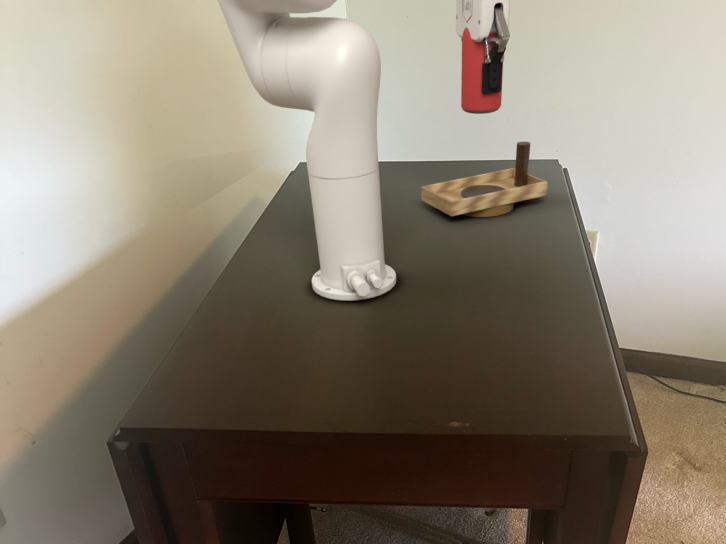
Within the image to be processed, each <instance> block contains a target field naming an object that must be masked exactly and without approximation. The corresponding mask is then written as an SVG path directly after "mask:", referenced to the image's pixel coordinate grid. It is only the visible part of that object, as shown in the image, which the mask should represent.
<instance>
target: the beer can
mask: <svg viewBox="0 0 726 544" xmlns="http://www.w3.org/2000/svg"><path fill="white" fill-rule="evenodd" d="M467 23H468V22H467ZM491 37H497V33H489V35H488V38H491ZM492 47H493V44H490V51H491V49H492ZM482 63H485V57H484V49H483V41H482V42H475V41H473V40H472V39H471V35H470V32H469V29H468V28H466V27H465V29H464V32H463V35H462V41H461V79H460V80H461V89H460V91H461V93H460V95H461V96H460V107H461V109H462V111H464V112H465V113H468V114H473V115H474V114H475V115H483V114H491V113H494V112H497V111H498V110H499V109H500V108H501V107H502V99H503V98H502V96H503V84H502V85H501V91H500V92H499V93H491V94H483V93H482ZM503 75H504V62H503V63H502V78H503Z"/></svg>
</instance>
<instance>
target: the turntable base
mask: <svg viewBox="0 0 726 544" xmlns="http://www.w3.org/2000/svg"><path fill="white" fill-rule="evenodd" d="M514 208H515V202H514V203H510V204H505V205H501V206H496V207H492V208H487V209H483V210H478V211H474V212H469V213H464V214H461V215H462V216H466V217H473V218H490V217H498V216H502V215H505V214H508V213H511V211H512V210H513V209H514Z"/></svg>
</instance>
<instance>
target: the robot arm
mask: <svg viewBox="0 0 726 544" xmlns="http://www.w3.org/2000/svg"><path fill="white" fill-rule="evenodd" d="M217 2H218V5H219V7H220V10H221V11H222V15H223V17H224V20H225V22H226V25H227V28H228V30H229V32H230V36H231V37H232V40H233V42H234V45H235V47H236V50H237V53H238V55H239V57H240V60H241V62H242V65H243V68H244V70H245V72H246V75H247V76H248V79H249V81H250V83H251V85H252V86H253V88H254V90H255V91H256V93H257V94H258V95H259V96H260V97H261V98H262V99H263V101H265V102H266V103H268V104H270V105H272V106H275V107H279V108H283V109H284V108H285V109H292V110H293V109H294V110H303V111H309V112H313V113H314V117H313V122H312V125H311V128H310V131H309V134H308V136H307V137H308V138H307V141H306V147H305V159H306V160H305V161H306V169H307V177H308V182H309V184H308V185H309V192H310V199H311V208H312V214H313V222H314V230H315V238H316V245H317V251H318V252H317V253H318V260H319V261H318V262H319V266H320V267H319V270H318V271H316V272H315V273H314V274H313V275H312V276H311V288H312V291H314V293H316V294H317V295H318V296H320V297H322V298H325V299H329V300H332V301H333V300H334V301H341V302H342V301H343V302H346V301H347V302H350V301H351V302H352V301H354V302H355V301H363V300H369V299H373V298H376V297H379V296H382V295H384V294H386V293H387V292H390V291H391V290H392V289H393V288H394V287H395V285H396V284H397V274H396V271H395V270H394V269H393V268H392V267H391V266H390V265H387V264H386V262H385V245H384V231H383V213H382V199H381V182H380V181H381V180H380V166H379V165H380V164H379V152H378V151H379V150H378V148H379V147H378V107H379V95H380V88H381V87H380V86H381V75H382V62H381V53H380V50H379V47H378V44H377V42H376V40H375V38H374V37H373V35H372V33H371V32H370V31H369V30H368V29H367V28H365V27H364V25H362V24H360V23H358V22H356V21H354V20H351V19H348V18H340V17H330V16H329V17H327V16H307V17H305V16H304V17H303V16H302V17H300V16H298V17H297V16H291V14H312V13H319V12H322V11H324V10H327V9H329V8H331V7H332V6H333V5H334V4H335V3H336V2H338V0H217ZM510 11H511V0H456V11H455V32H456V34H457V36H458V37H459V38H460V40H461V42H462V35H463V32H464V29H465V27H466V28H468V29H469V32H470V35H471V39H472V40H473V41H475V42H482V41H483V49H484V57H485V63H482V93H483V94H491V93H499V92H500V91H501V85H502V86H503V77H502V63H503V64H504V61H505V53H506V50H507V45H508V43H509V41H510V38H511V33H510V30H509V26H510ZM467 22H468V23H467ZM489 33H497V37H491V38H488V35H489ZM490 44H493V47H492V49H491V51H490Z"/></svg>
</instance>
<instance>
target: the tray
mask: <svg viewBox="0 0 726 544" xmlns="http://www.w3.org/2000/svg"><path fill="white" fill-rule="evenodd" d="M530 153H531V142H530V141H518V142H517V143H516V150H515V154H516V155H515V167H511V168H506V169H501V170H496V171H491V172H486V173H481V174H477V175H472V176H466V177H461V178H456V179H451V180H447V181H441V182H437V183H431V184H427V185H422V186H421V187H420V192H421V193H420V194H421V195H420V196H421V198H420V199H421V201H422V202H424V203H426V204H428V205H430V206H432V207H433V208H435V209H437V210H438V211H441V212H442V213H444V214H446V215H448V216H450V217H455V216H459V215H462V214H464V213H469V212H474V211H478V210H483V209H487V208H492V207H496V206H501V205H505V204H510V203H514V204H515V203H519V202H523V201H528V200H532V199H536V198H537V199H538V198H541V197H546V196H547V195H548V186H549V182H548V181H547V180H545V179H542V178H539V177H538V176H535V175H532V174H530V173H529V167H530V155H531V154H530Z"/></svg>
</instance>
